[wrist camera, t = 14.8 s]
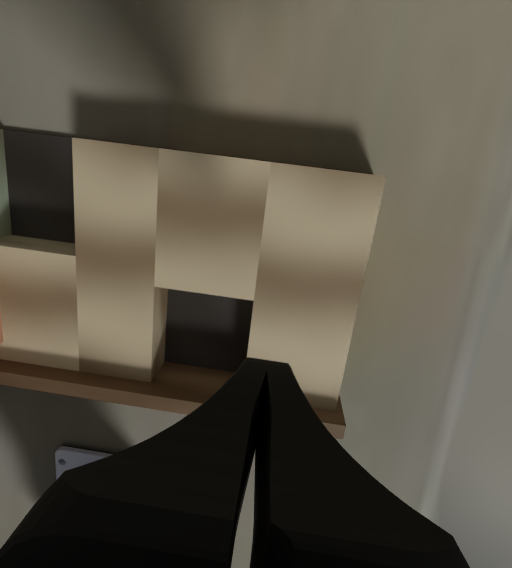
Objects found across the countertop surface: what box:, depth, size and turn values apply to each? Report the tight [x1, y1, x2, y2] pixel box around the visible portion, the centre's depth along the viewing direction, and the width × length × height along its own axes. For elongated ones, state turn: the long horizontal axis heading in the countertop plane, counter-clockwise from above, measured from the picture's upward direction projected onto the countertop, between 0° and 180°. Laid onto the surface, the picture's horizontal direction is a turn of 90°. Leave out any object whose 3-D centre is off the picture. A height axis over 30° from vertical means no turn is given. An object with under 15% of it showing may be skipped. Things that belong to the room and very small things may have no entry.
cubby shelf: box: [0, 129, 386, 439], centre depth 19 cm, size 14×25×4 cm, turn 83°
